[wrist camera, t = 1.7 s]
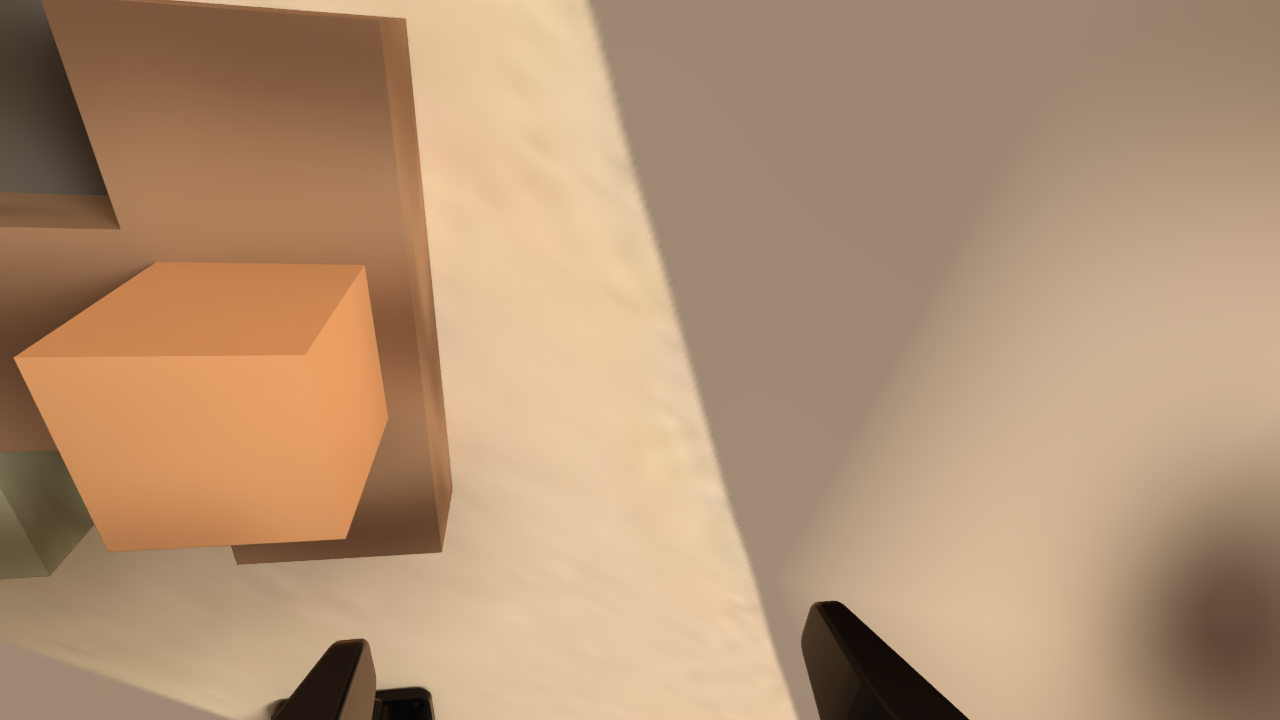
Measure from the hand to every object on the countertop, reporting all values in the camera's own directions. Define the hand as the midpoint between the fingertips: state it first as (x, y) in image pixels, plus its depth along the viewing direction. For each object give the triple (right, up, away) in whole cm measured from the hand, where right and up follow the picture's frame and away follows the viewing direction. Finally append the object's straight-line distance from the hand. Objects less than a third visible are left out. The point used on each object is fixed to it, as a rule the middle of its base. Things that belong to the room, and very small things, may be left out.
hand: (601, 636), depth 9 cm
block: (-9, +4, +7) cm, 12 cm away
